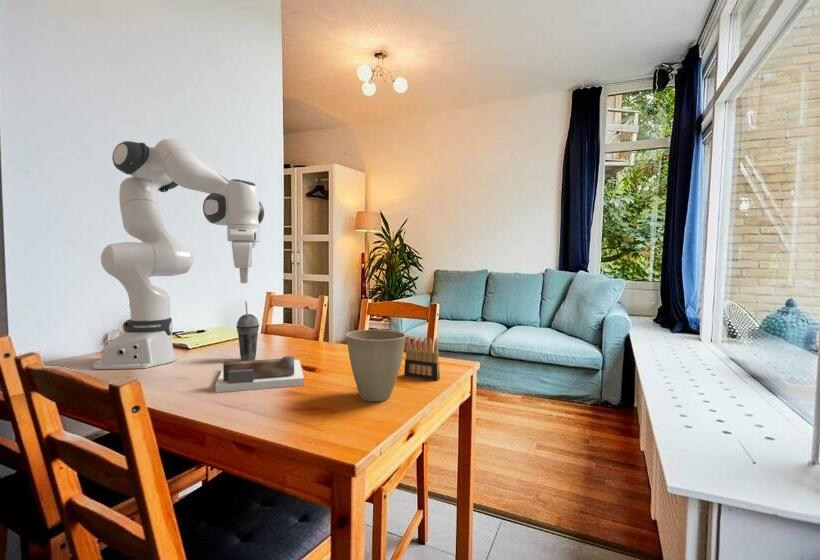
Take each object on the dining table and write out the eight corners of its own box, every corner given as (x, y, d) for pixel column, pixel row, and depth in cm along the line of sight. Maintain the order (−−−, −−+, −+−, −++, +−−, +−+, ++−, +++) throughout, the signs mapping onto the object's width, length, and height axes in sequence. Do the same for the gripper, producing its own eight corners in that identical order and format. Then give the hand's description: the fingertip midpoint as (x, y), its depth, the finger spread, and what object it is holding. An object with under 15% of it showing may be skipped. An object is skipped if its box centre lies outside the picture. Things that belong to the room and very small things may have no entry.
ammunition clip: (439, 379, 122) (440, 338, 121) (437, 381, 120) (437, 339, 119) (406, 374, 126) (407, 335, 126) (404, 376, 125) (404, 336, 124)
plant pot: (382, 411, 95) (383, 342, 94) (333, 399, 103) (333, 335, 102) (416, 394, 108) (417, 332, 107) (370, 384, 116) (371, 327, 115)
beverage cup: (263, 357, 145) (263, 300, 144) (253, 363, 137) (253, 302, 136) (243, 357, 145) (242, 299, 144) (232, 362, 138) (231, 301, 137)
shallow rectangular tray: (215, 392, 107) (215, 373, 107) (225, 370, 128) (224, 354, 128) (304, 385, 114) (304, 367, 114) (299, 365, 135) (299, 350, 135)
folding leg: (293, 371, 119) (293, 355, 118) (294, 375, 115) (294, 358, 115) (224, 377, 113) (224, 360, 112) (223, 380, 109) (223, 363, 109)
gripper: (235, 237, 131) (235, 281, 132) (228, 233, 112) (229, 285, 112) (256, 237, 133) (256, 281, 134) (253, 234, 114) (254, 285, 114)
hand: (244, 283), depth 123 cm, fingers closed
